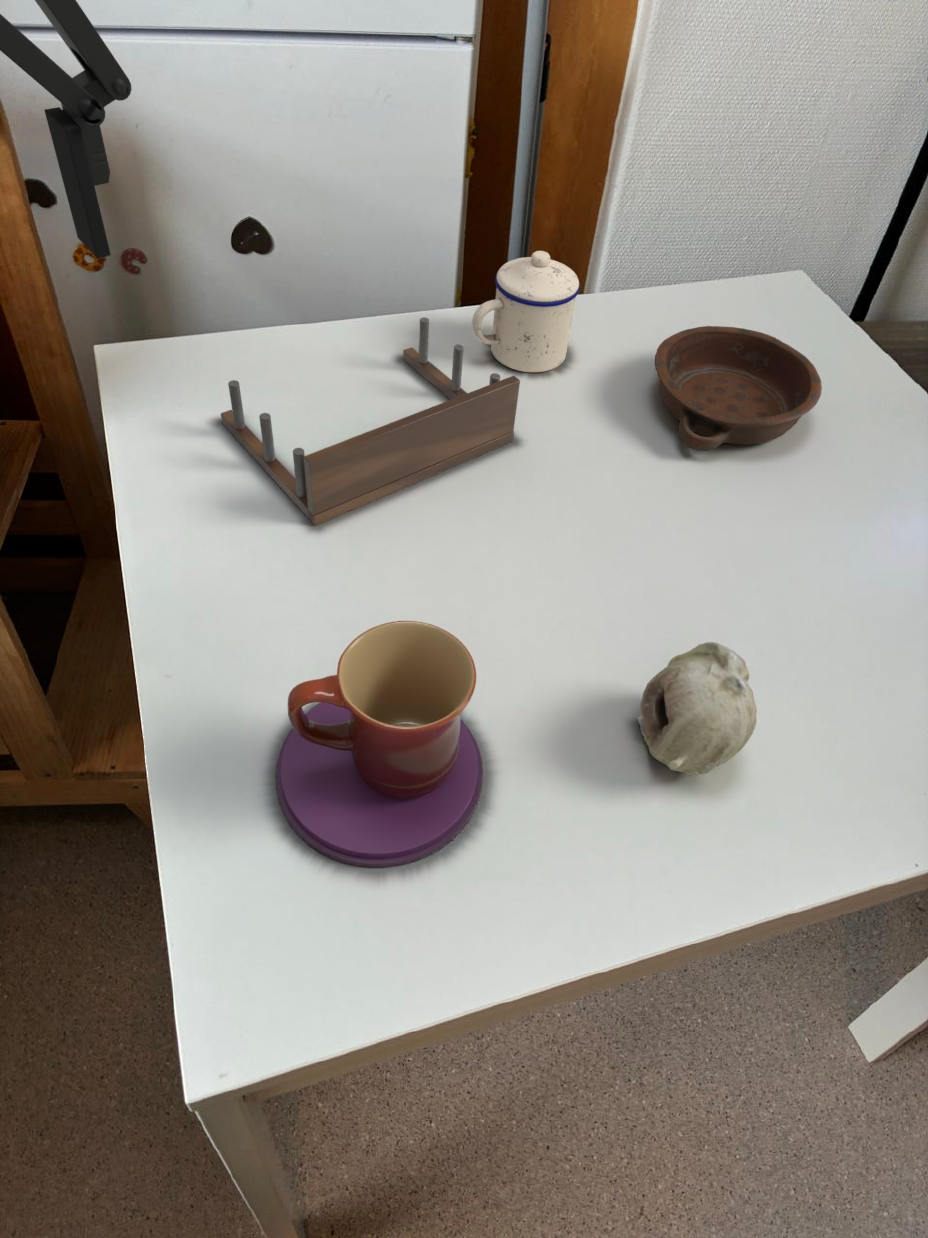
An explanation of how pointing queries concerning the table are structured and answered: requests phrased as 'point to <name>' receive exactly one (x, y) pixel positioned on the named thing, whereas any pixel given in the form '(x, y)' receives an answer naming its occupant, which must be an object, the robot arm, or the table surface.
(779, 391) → the dish
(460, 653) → the mug
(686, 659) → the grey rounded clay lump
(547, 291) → the teacup with lid
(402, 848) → the plum lid
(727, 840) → the table surface
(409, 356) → the dish rack
